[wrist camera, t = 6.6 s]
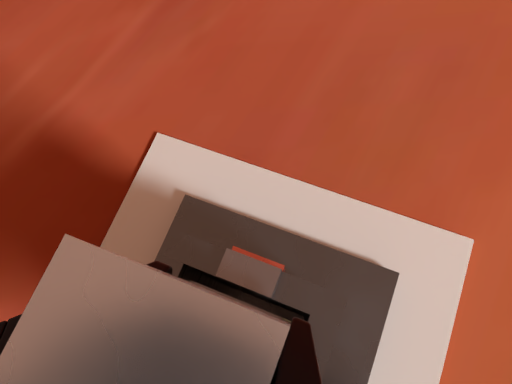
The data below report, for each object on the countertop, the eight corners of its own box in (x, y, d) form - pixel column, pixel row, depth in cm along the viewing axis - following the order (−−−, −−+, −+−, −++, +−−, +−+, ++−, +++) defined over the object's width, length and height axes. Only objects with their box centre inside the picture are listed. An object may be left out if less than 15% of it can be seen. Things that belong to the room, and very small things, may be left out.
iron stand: (319, 528, 15) (345, 718, 8) (93, 413, 17) (-53, 481, 10) (393, 275, 17) (463, 244, 10) (190, 200, 19) (131, 130, 12)
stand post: (264, 401, 15) (180, 656, 4) (191, 368, 16) (-80, 496, 4) (292, 321, 16) (295, 323, 4) (222, 292, 16) (63, 228, 5)
